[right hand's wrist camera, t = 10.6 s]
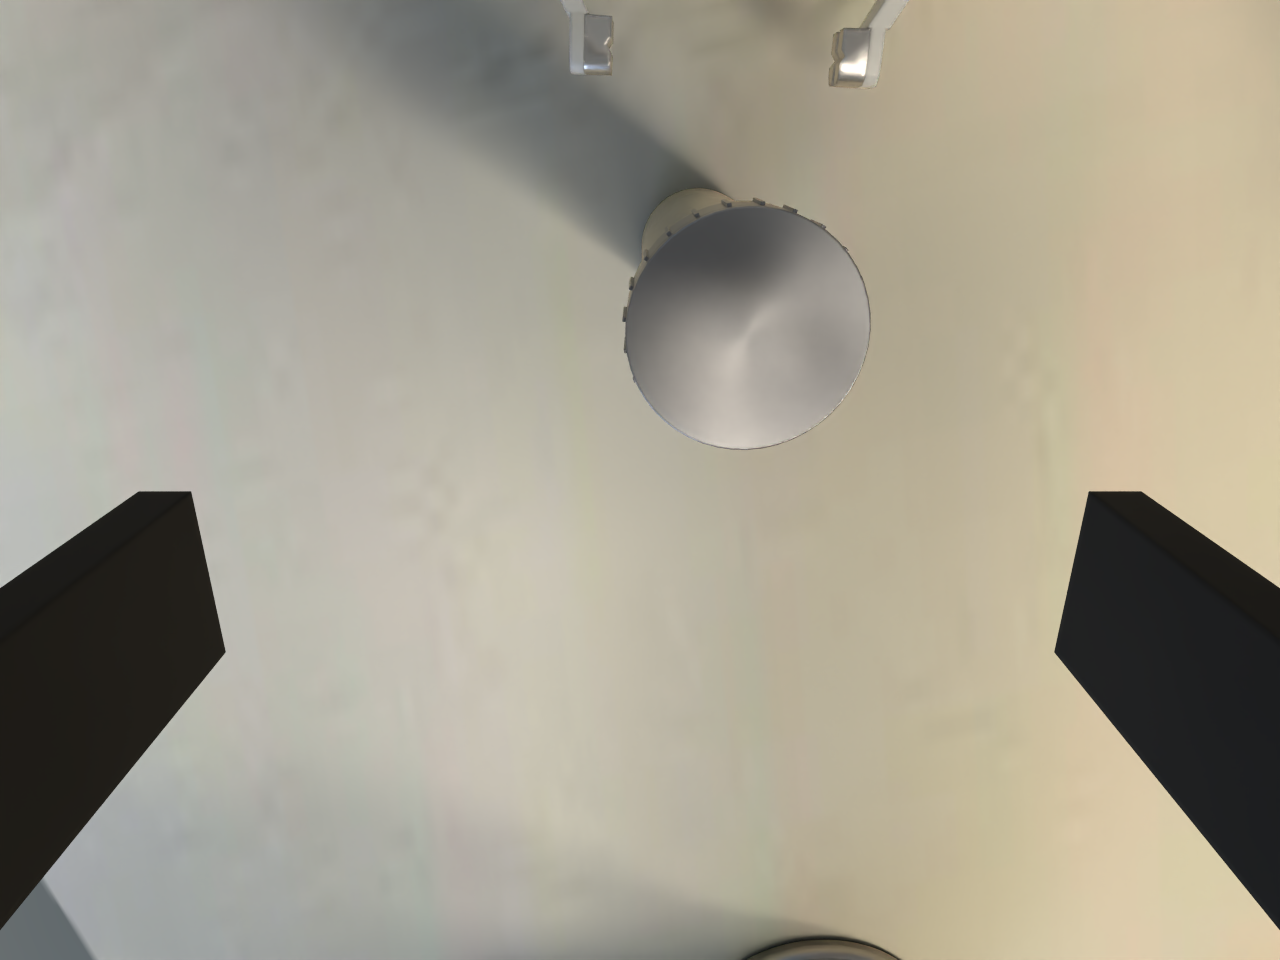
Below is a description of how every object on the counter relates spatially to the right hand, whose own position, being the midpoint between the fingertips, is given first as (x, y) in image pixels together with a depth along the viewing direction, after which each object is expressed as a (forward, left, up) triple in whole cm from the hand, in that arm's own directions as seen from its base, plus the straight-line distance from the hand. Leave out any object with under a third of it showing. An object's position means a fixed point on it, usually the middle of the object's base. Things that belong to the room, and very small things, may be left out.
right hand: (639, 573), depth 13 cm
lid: (-1, -3, -9) cm, 10 cm away
